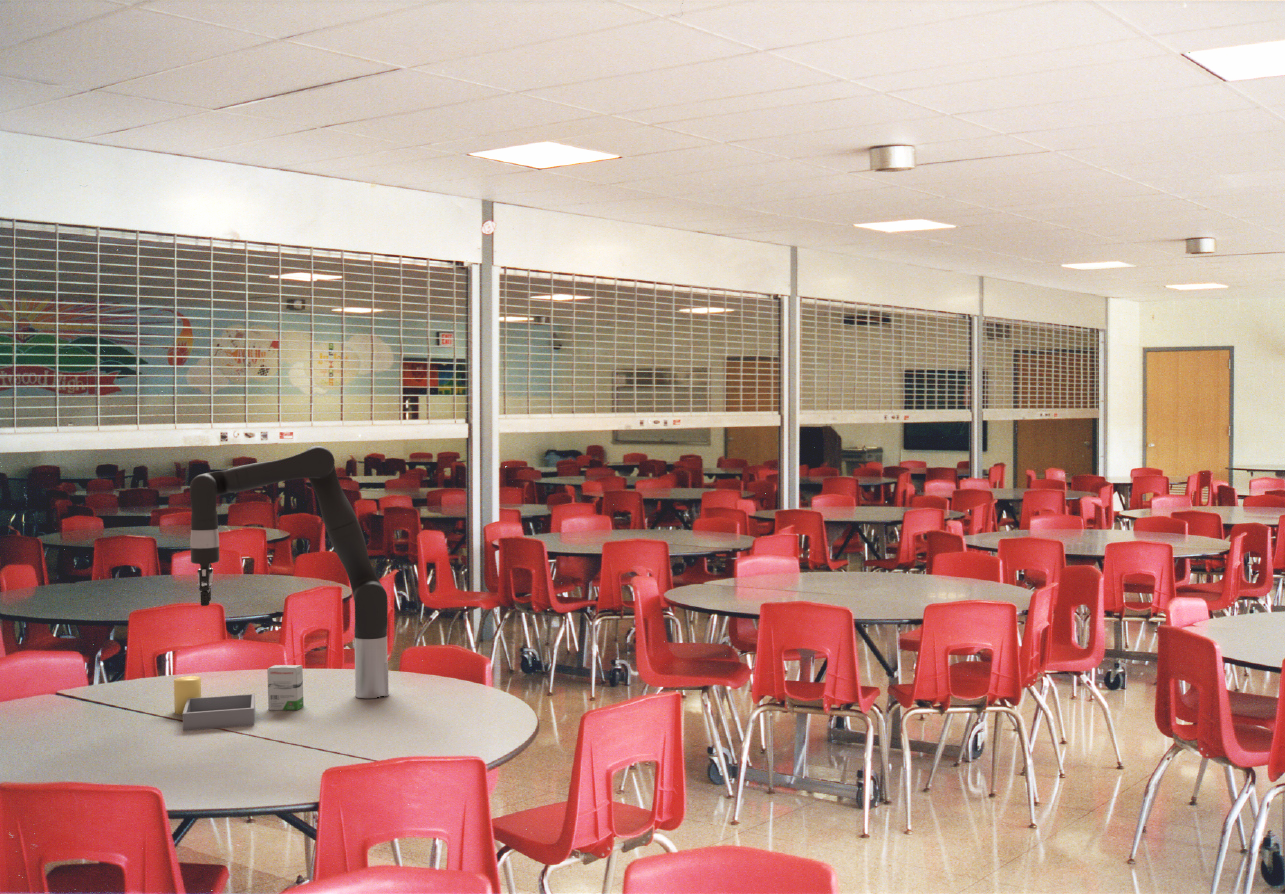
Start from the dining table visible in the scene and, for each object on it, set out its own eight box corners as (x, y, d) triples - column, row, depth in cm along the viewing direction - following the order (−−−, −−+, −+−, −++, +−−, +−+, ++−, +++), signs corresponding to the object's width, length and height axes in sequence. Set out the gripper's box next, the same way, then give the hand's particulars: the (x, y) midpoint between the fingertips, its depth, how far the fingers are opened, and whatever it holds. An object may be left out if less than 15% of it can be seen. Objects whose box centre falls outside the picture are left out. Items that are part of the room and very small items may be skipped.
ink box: (304, 706, 341) (303, 664, 341) (297, 710, 336) (297, 668, 336) (274, 705, 342) (273, 663, 342) (267, 710, 337) (266, 667, 337)
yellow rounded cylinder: (202, 707, 341) (201, 675, 341) (200, 713, 334) (200, 680, 334) (175, 709, 339) (174, 677, 339) (173, 715, 332) (172, 682, 332)
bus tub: (255, 709, 338) (254, 693, 338) (254, 725, 321) (253, 708, 321) (187, 714, 333) (187, 698, 333) (183, 730, 316) (182, 713, 316)
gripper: (217, 547, 334) (219, 606, 334) (220, 542, 347) (221, 599, 348) (188, 548, 332) (189, 608, 332) (192, 543, 345) (193, 600, 346)
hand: (205, 603), depth 340 cm, fingers open, 8 cm apart
